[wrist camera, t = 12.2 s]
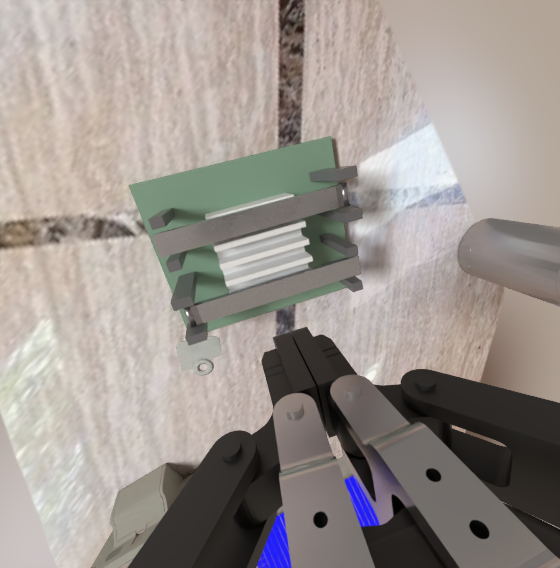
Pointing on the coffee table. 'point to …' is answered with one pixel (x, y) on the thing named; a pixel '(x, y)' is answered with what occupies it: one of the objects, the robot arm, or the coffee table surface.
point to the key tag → (198, 354)
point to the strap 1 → (250, 220)
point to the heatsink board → (256, 245)
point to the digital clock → (139, 515)
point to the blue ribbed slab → (276, 551)
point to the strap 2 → (271, 290)
